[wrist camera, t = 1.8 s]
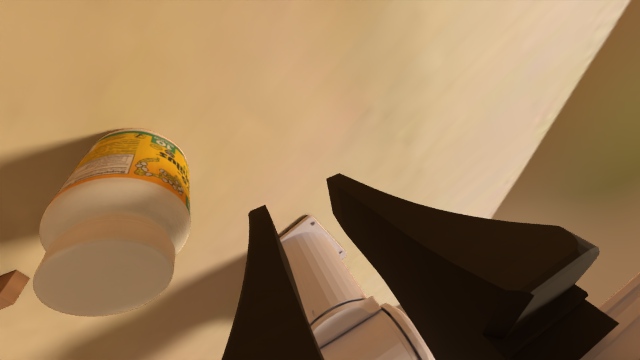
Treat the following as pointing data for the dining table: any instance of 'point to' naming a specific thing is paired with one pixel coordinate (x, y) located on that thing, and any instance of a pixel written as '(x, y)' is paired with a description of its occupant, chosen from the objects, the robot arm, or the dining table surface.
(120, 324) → the dining table surface
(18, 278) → the brown wooden u-shaped frame
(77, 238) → the supplement bottle
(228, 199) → the dining table surface
